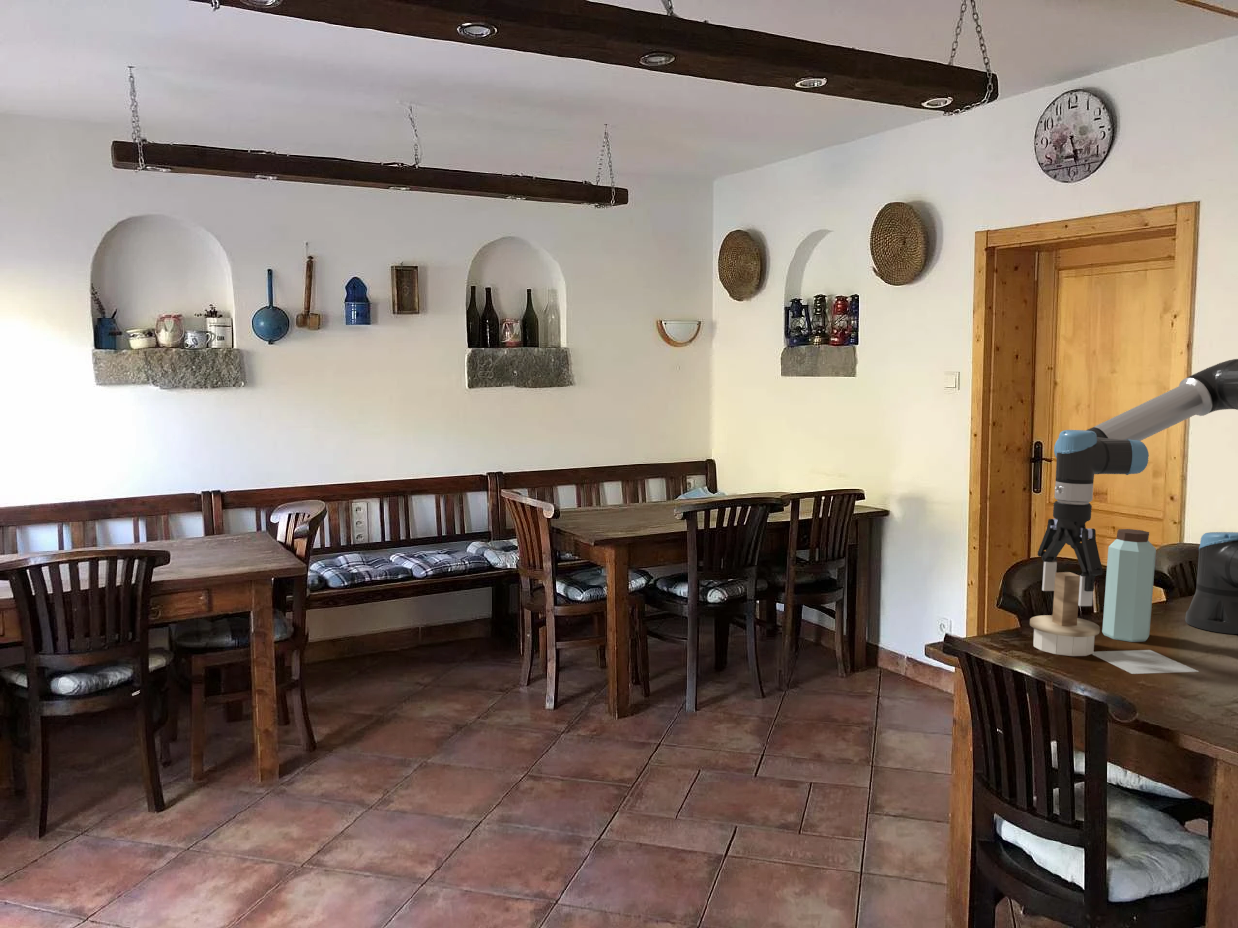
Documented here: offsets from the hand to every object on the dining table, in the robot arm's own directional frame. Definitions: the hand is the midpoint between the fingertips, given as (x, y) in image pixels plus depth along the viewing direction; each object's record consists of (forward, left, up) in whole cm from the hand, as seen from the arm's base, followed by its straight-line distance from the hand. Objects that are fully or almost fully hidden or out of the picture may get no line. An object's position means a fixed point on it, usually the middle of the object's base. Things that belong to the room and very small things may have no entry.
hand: (1066, 597), depth 219 cm
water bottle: (-20, -7, -12) cm, 24 cm away
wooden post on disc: (0, 0, -7) cm, 7 cm away
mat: (-11, +11, -12) cm, 19 cm away
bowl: (0, 0, -12) cm, 12 cm away
